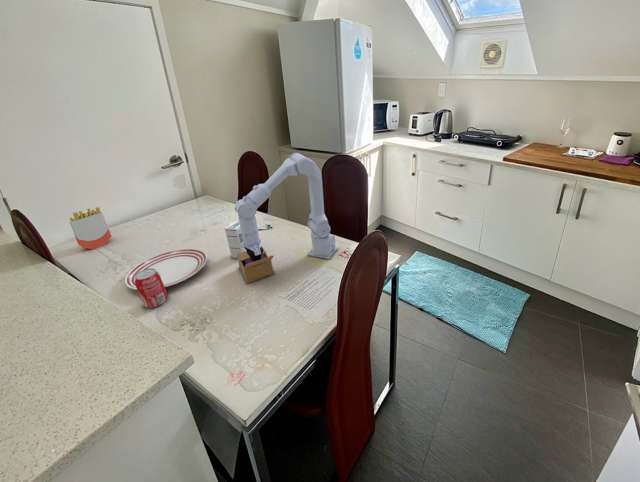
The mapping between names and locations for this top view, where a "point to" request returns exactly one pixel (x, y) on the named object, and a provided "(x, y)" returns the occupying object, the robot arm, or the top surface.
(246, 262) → the purple yarn skein
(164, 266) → the dinner plate
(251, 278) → the bin
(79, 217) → the french fries container
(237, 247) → the syrup box
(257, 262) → the bin flap
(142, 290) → the soda can
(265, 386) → the top surface
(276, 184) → the robot arm
